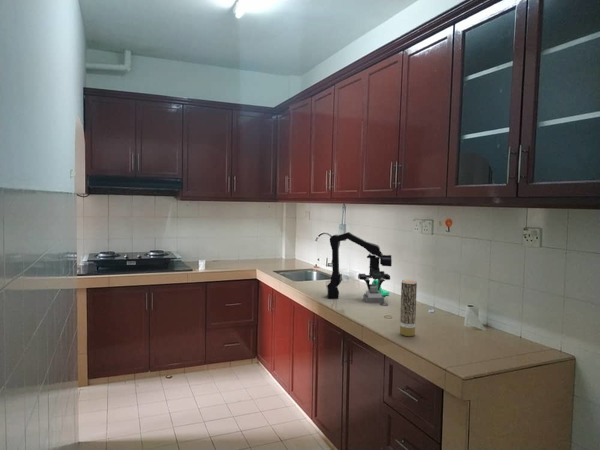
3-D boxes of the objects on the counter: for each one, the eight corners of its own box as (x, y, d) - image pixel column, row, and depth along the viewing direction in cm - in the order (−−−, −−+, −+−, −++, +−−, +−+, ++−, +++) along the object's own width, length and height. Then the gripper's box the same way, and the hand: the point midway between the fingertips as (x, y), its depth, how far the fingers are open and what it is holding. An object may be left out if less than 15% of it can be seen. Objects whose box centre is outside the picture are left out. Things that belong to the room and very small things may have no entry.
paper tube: (417, 334, 188) (419, 281, 186) (410, 337, 183) (411, 283, 182) (404, 330, 193) (406, 279, 191) (397, 334, 188) (398, 280, 186)
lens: (370, 297, 246) (370, 285, 245) (368, 295, 250) (368, 284, 250) (378, 296, 246) (377, 285, 246) (376, 294, 251) (375, 283, 250)
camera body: (366, 302, 244) (366, 293, 244) (363, 299, 252) (363, 290, 252) (384, 302, 245) (384, 293, 245) (380, 299, 253) (380, 290, 253)
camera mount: (389, 296, 263) (390, 280, 262) (381, 297, 259) (382, 281, 258) (376, 292, 273) (376, 277, 272) (368, 293, 268) (368, 278, 268)
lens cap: (378, 305, 239) (378, 304, 239) (380, 303, 243) (380, 302, 243) (387, 306, 237) (387, 305, 237) (389, 304, 241) (389, 303, 241)
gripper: (362, 267, 238) (361, 293, 239) (393, 267, 240) (392, 293, 241) (358, 264, 250) (357, 289, 251) (387, 264, 251) (387, 289, 252)
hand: (373, 290), depth 248 cm, fingers open, 5 cm apart
